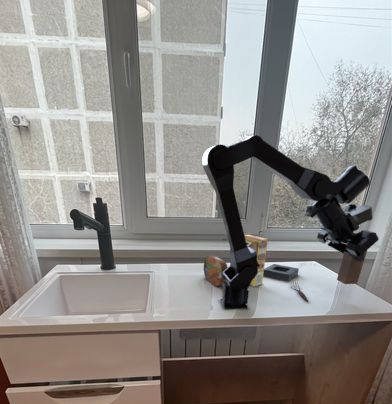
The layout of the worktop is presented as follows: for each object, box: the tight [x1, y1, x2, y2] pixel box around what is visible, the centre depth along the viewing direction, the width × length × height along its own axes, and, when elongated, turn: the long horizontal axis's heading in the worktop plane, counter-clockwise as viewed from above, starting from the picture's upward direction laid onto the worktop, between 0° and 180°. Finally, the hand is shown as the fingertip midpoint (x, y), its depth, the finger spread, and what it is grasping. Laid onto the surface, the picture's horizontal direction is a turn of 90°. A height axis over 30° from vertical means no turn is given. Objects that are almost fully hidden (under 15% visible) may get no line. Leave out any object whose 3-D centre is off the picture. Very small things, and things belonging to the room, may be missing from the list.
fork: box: [290, 280, 309, 302], centre depth 91 cm, size 3×16×2 cm, turn 178°
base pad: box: [263, 263, 300, 282], centre depth 107 cm, size 10×10×2 cm
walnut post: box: [336, 244, 368, 285], centre depth 82 cm, size 4×4×13 cm
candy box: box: [244, 234, 268, 287], centre depth 96 cm, size 9×4×15 cm, turn 33°
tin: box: [203, 255, 229, 287], centre depth 97 cm, size 15×3×8 cm, turn 21°
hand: (357, 258), depth 82 cm, fingers closed on walnut post, 4 cm apart
